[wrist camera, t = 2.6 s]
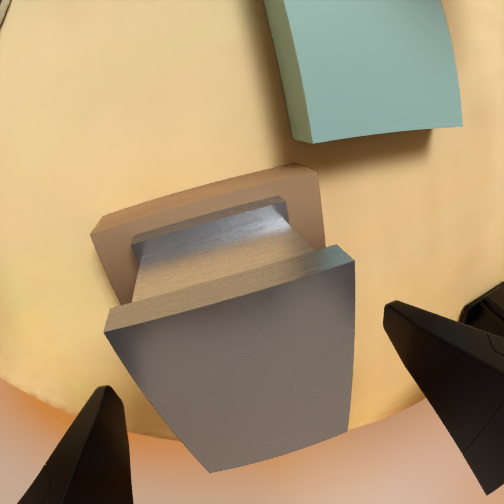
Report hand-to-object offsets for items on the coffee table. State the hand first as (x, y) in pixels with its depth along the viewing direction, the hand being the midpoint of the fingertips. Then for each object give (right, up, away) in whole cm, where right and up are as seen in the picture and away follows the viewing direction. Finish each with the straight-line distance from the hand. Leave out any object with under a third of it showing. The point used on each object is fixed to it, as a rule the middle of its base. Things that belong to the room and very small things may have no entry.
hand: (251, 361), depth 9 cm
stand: (+5, +12, +1) cm, 13 cm away
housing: (-1, +1, +3) cm, 3 cm away
